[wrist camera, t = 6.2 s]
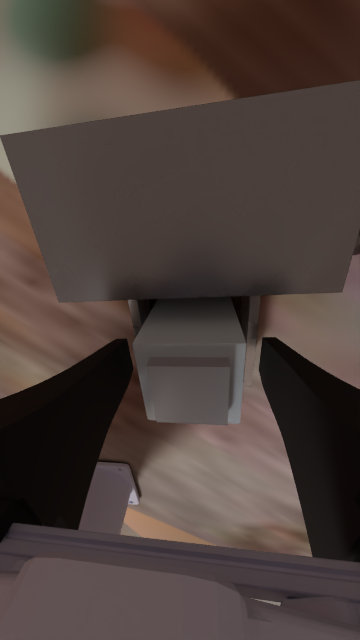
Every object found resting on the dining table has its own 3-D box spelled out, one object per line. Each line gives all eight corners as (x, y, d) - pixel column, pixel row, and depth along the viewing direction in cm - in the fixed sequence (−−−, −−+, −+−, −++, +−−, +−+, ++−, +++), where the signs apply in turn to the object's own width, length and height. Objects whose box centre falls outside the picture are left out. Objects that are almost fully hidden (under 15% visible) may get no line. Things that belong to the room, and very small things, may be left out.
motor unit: (122, 361, 17) (96, 407, 13) (74, 165, 11) (-1, 135, 7) (333, 362, 15) (383, 417, 11) (407, 123, 9) (572, 47, 5)
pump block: (166, 351, 16) (144, 430, 10) (160, 294, 14) (127, 352, 8) (227, 351, 15) (241, 435, 9) (228, 292, 13) (249, 352, 7)
